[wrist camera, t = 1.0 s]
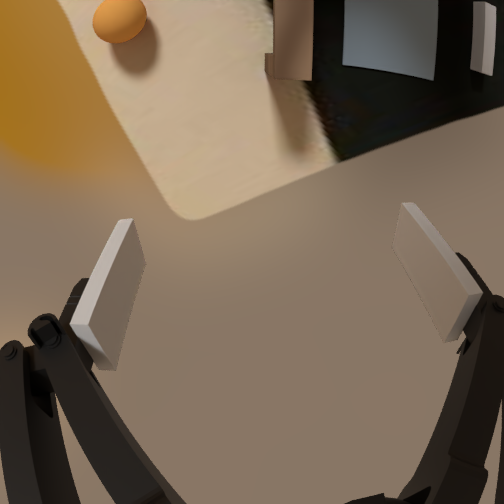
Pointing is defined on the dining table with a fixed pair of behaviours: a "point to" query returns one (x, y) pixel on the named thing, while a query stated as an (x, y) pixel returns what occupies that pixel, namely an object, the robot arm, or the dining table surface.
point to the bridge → (291, 40)
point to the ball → (119, 20)
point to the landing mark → (391, 35)
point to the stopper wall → (483, 37)
